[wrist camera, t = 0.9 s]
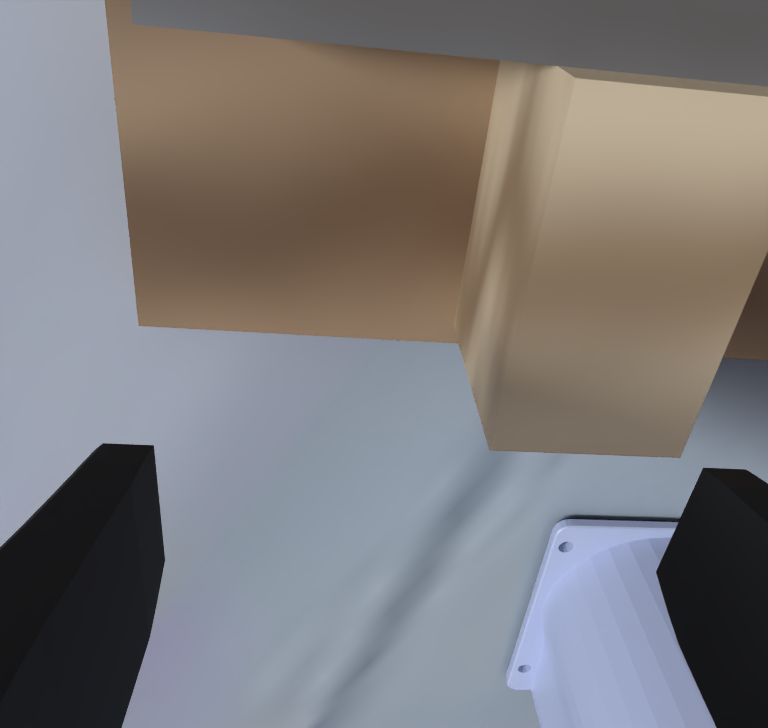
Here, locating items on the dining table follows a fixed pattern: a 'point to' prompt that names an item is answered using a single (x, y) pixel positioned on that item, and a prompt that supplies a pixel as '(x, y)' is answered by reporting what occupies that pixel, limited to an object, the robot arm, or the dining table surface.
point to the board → (307, 184)
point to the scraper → (584, 198)
